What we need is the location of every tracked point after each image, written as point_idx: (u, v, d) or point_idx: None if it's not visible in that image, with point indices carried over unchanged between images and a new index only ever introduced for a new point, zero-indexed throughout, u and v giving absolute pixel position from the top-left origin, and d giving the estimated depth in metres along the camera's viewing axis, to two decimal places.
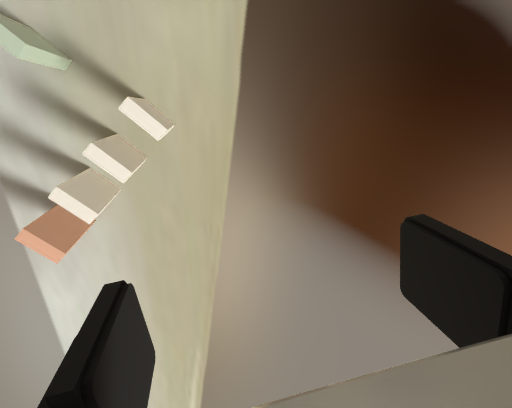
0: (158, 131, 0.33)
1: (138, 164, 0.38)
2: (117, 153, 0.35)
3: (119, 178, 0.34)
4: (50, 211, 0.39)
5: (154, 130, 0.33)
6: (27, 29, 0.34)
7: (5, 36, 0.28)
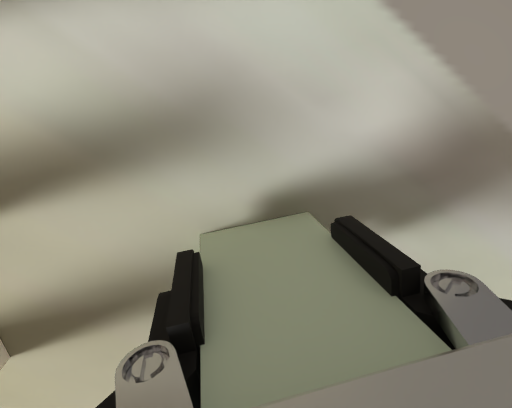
0: None
1: None
2: None
3: None
4: None
5: None
6: None
7: None
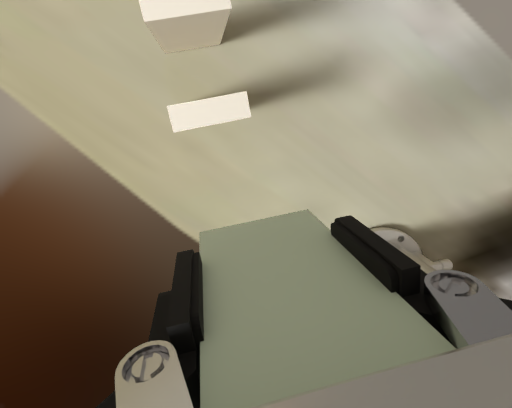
0: (179, 118, 0.19)
1: (157, 38, 0.21)
2: (192, 26, 0.20)
3: None
4: None
5: (185, 113, 0.19)
6: None
7: None
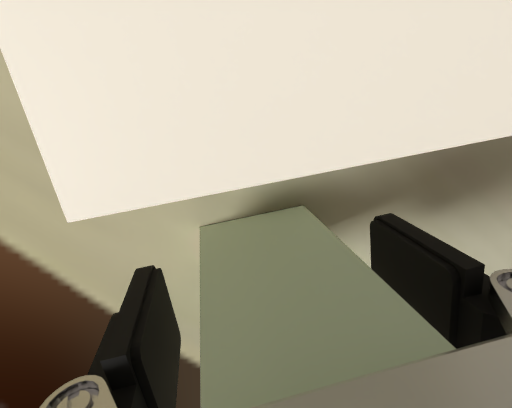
0: (119, 97, 0.02)
1: None
2: None
3: None
4: None
5: (169, 57, 0.02)
6: None
7: None
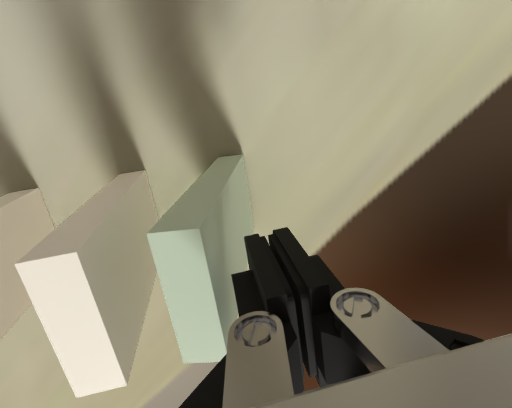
0: (97, 378, 0.10)
1: (6, 329, 0.14)
2: None
3: None
4: None
5: (87, 370, 0.10)
6: (238, 184, 0.16)
7: (200, 325, 0.10)
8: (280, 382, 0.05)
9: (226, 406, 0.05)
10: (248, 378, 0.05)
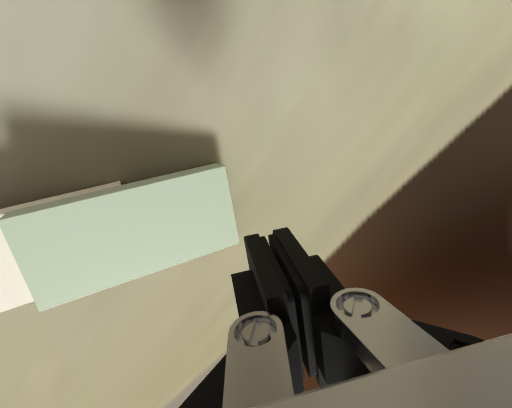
0: None
1: None
2: None
3: None
4: None
5: None
6: (171, 196, 0.17)
7: None
8: (280, 382, 0.05)
9: (226, 406, 0.05)
10: (248, 378, 0.05)
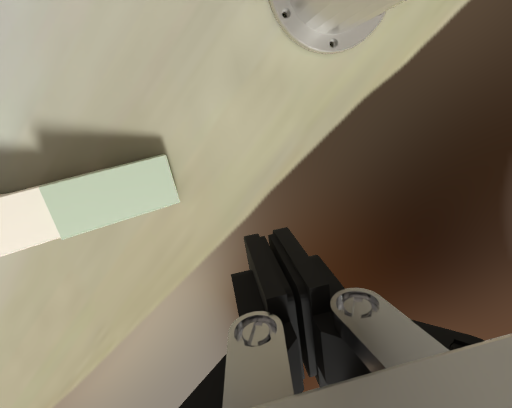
0: None
1: None
2: None
3: None
4: None
5: None
6: (134, 173, 0.29)
7: None
8: (280, 382, 0.05)
9: (226, 406, 0.05)
10: (248, 378, 0.05)
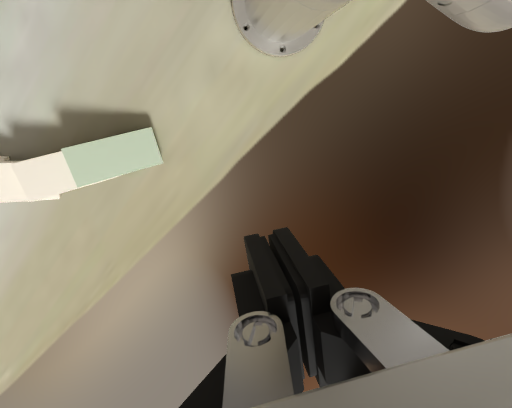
0: None
1: None
2: None
3: None
4: None
5: None
6: (128, 140, 0.40)
7: None
8: (280, 382, 0.05)
9: (226, 406, 0.05)
10: (248, 378, 0.05)
